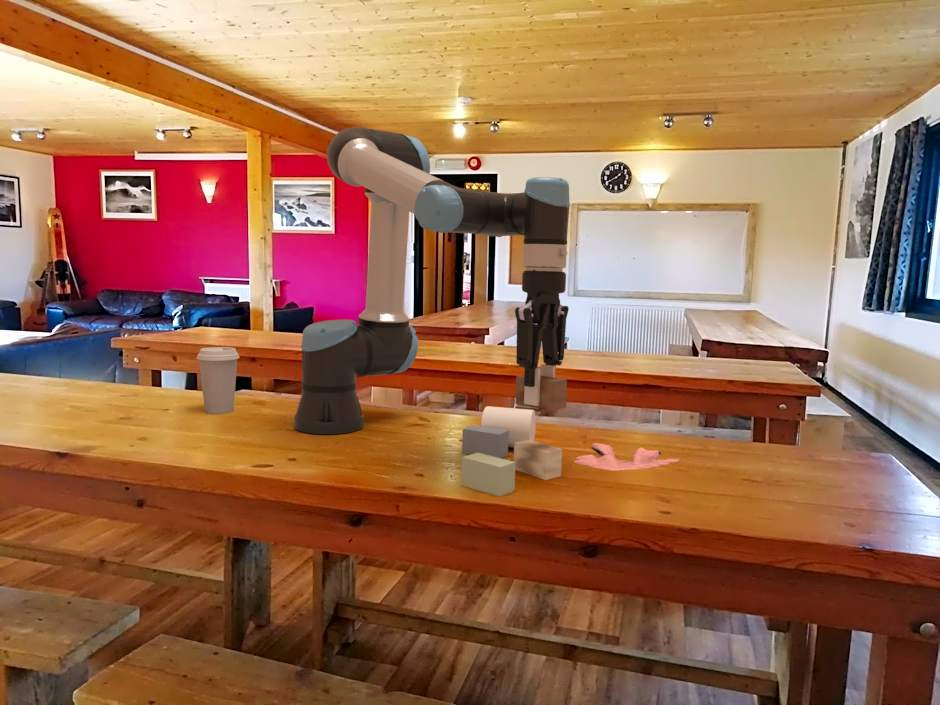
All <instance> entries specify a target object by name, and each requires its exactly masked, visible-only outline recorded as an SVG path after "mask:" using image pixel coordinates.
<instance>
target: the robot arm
mask: <svg viewBox="0 0 940 705" xmlns="http://www.w3.org/2000/svg"><path fill="white" fill-rule="evenodd" d="M426 148H427V147H425V146H424V144H423V143H422V141H421V140H420V139H418V138H416V137H414V136H410V135H406V134H404V133H398V132H391V131H384V130H378V129H372V128H368V127H363V126H352V127H348V128H347V127H346V128H344V129H343V130H340V131H339V132H338V133H336V134H335V135H334V136H333V137H332V139H331V140H330V142H329V144H328V147H327V150H326V161H327V165H328V167H329V168H330V171H331V173H332V174H333V175H334V176H335V177H336V178H338V179H339V180H341V181H342V182H344V183H345V184H348V185H350V186H352V187H363V188H364V195H365V196H366V197H367V199H368V200H370V216H369V217H370V219H369V236H368V237H369V238H368V239H369V240H368V258H367V259H368V260H367V273H366V274H367V276H366V278H367V280H366V296H365V309H364V310H362V312H361V313H359V314H358V320H357V321H358V322H356V321H355V320H353V319H330V320H329V319H328V320H322V321H317V322H314V323H312V324H309V325H307V326H305V328H304V329H303V331H302V337H301V339H302V340H301V344H300V348H301V370H302V371H301V374H302V375H301V376H302V379H301V380H302V383H301V384H302V385H301V386H302V391H301V396H300V399H299V402H298V406H297V410H296V412H295V415H294V418H293V419H294V420H293V425H294V426H293V427H294V429H295V430H296V431H299V432H302V433H306V434H314V435H315V434H316V435H338V434H339V435H340V434H348V433H352V432H356V431H359V430H361V429H362V428H364V425H365V424H364V423H365V422H364V420H365V418H364V413H363V412H362V411H363V410H362V407H361V403H360V401H359V398H358V394H357V378H361V377H363V378H364V377H371V376H382V375H386V376H390V375H394V374H396V373H397V374H398V373H403V372H405V371H406V370H408V369H409V368H410V367H411V366H412V365H413V363H414V362H415V360H416V357H417V354H418V350H419V338H418V336H417V332H416V329H415V328H414V326H412V325H410V317H408V315H407V314H406V313H405V312H404V306H405V305H404V304H405V300H404V299H405V286H406V270H407V259H408V258H407V255H408V241H409V240H408V239H409V226H410V225H409V224H410V223H409V222H410V213H412V214H413V215H414V216H415V219H416V220H417V221H418V224H419V226H420V227H421V228H423V229H424V230H427V231H434V232H437V233H441V234H444V233H452V234H454V233H457V234H472V235H473V234H474V235H484V236H485V237H486V236H487V237H492V238H493V237H497V238H501V237H510V236H511V237H513V236H523V245H522V248H523V249H522V267H523V268H525V270H523V272H522V279H521V290H522V292H524V293H526V294H527V295H526V299H525V302H524V305H523V306H522V307H515V309H514V314H515V318H516V354H515V355H516V358H515V359H516V365H518V366H519V367H520V368H524V370H523V371H524V373H523V375H524V386H525V388H524V404H528V405H533V406H539V396H540V376H547V377H554V378H556V370H557V369H556V367H557V366H559V367H560V366H561V365H562V363H563V360H564V358H565V343H566V329H567V327H566V326H567V318H568V317H567V316H568V313H569V309H570V308H569V306H568V305H562V304H561V300H560V299H561V298H560V294H563V293H565V291H566V287H567V286H566V285H567V284H566V283H567V273H566V272H565V271H563V269H565V268H566V267H567V255H568V251H567V248H568V232H569V230H568V229H569V217H570V206H571V203H570V184H569V182H568V181H567V180H566V179H564V178H561V177H555V176H554V177H552V176H537V177H531V178H529V179H527V180H526V182H525V188H524V192H514V193H513V192H512V193H503V192H496V191H495V192H493V191H488V190H487V191H485V190H479V189H468V188H464V187H463V188H462V187H458V186H456V185H453V184H451V183H449V182H446V181H444V180H443V179H441V178H438V177H436V176H434V175H432V174H431V161H430V156H429V152H428V150H427V149H426ZM541 346H542V348H541ZM541 350H542V359H543V360H542V362H543V363H541V364H540V367H538V365H539V360H540V354H541V353H540V352H541Z"/></svg>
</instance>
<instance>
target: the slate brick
mask: <svg viewBox="0 0 940 705" xmlns="http://www.w3.org/2000/svg"><path fill="white" fill-rule="evenodd" d="M508 435H509V430H503V429H497V428H490V427H483V426H481V425H475V424H471V425H469V426H466V427H464V428H462V440H461V441H462V443H461V444H462V445H461V447H462V448H461V449H462V450H461V453H462V454H465V455H471V454H474V453H481V454H485V455H489V456H493V457H497V458H501V459H504V458H505V457H506V456H508V455H509V447H508Z"/></svg>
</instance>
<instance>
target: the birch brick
mask: <svg viewBox="0 0 940 705" xmlns="http://www.w3.org/2000/svg"><path fill="white" fill-rule="evenodd" d="M562 459H563V449H562V448H559V447H556V446H552V445H549V444H546V443H542V442H539V441H536V440H534V441H533V440H525V441H521V442H516V443H514V448H513V462H516V463H515V471H518V472H522V473H524V474H527V475H530V476H533V477H535V478H539V479H542V480H544V481H548V480H551V479H555V478H559V477H562V464H563V463H562V462H563V460H562Z"/></svg>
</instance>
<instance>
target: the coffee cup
mask: <svg viewBox="0 0 940 705" xmlns="http://www.w3.org/2000/svg"><path fill="white" fill-rule="evenodd" d="M238 359H240V354H239V353H238V352H237V348H235V347H229V346H228V347H227V346H214V347H213V346H212V347H211V346H210V347H202V348H200V349H199V352H198V354H197V355H196V360H198V363H199V371H200V382H201V390H202V400H203V408H204V412H205V413H206V414H209V415H210V414H211V415H223V414H224V413H225V414H230V413H233V412H234V411H235V410H234V409H235V398H236V396H235V394H236V385H237V384H236V383H237V382H236V380H237V369H238V368H237V367H238Z"/></svg>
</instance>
